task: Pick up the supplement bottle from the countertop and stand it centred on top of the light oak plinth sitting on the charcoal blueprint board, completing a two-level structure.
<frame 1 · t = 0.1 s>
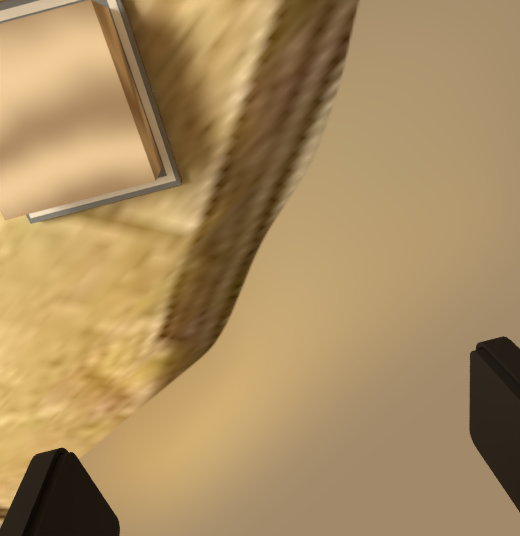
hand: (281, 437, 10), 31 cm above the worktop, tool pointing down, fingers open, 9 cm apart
oak plinth: (66, 112, 33), point 1 cm above the worktop, touching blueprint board
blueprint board: (70, 111, 34), on the worktop
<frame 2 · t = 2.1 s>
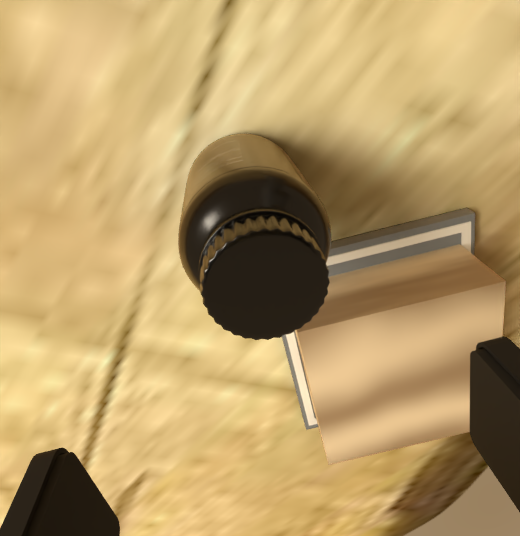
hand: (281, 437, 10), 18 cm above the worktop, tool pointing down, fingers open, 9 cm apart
oak plinth: (379, 335, 31), point 1 cm above the worktop, touching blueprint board
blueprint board: (375, 327, 31), on the worktop
supplement bottle: (243, 188, 26), on the worktop
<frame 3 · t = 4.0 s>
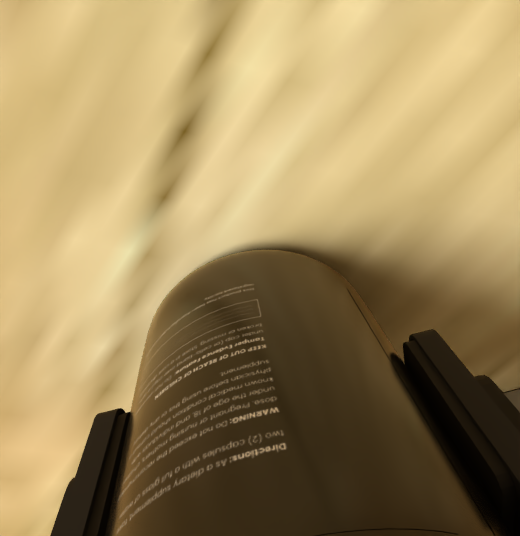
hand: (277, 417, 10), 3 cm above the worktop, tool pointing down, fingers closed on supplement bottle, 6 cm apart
supplement bottle: (260, 337, 13), on the worktop, touching gripper
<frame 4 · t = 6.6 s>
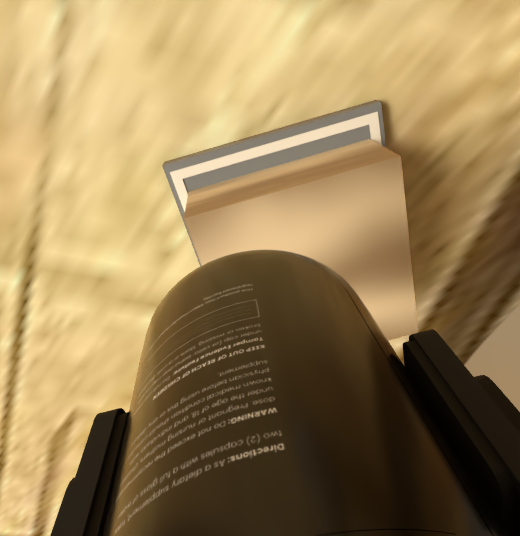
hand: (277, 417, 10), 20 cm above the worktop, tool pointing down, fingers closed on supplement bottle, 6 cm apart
oak plinth: (298, 246, 29), point 1 cm above the worktop, touching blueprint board
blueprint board: (295, 241, 30), on the worktop
supplement bottle: (259, 337, 13), point 17 cm above the worktop, touching gripper
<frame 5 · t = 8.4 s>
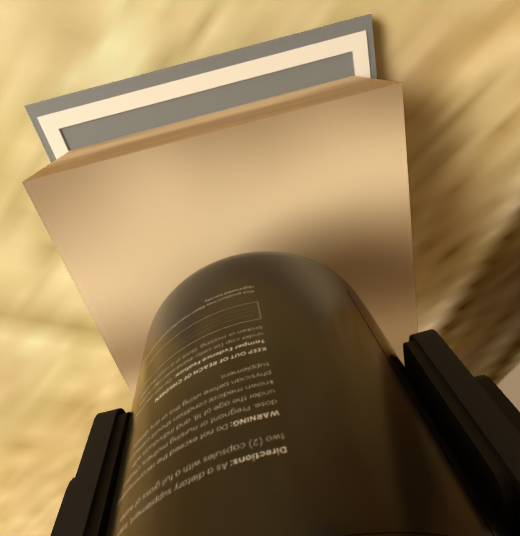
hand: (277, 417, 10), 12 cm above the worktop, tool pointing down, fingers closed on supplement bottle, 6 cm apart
oak plinth: (246, 241, 20), point 1 cm above the worktop, touching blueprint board
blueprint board: (245, 234, 21), on the worktop
supplement bottle: (260, 339, 13), point 9 cm above the worktop, touching gripper
when the fingers open (10 cm above the worktop, at t = 9.6 s): supplement bottle drops 1 cm, resting on oak plinth.
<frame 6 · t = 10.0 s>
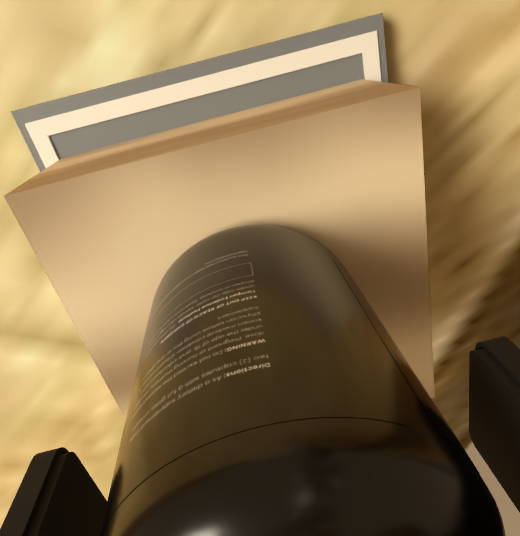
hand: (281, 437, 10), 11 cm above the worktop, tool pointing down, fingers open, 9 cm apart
oak plinth: (248, 254, 19), point 1 cm above the worktop, touching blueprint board, supplement bottle
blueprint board: (246, 245, 20), on the worktop
supplement bottle: (255, 308, 14), point 6 cm above the worktop, touching oak plinth
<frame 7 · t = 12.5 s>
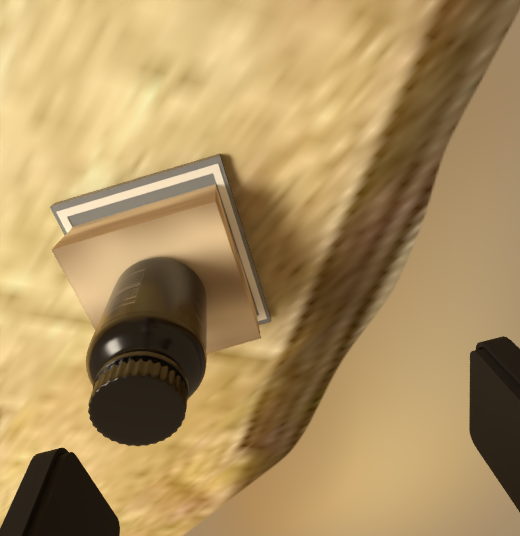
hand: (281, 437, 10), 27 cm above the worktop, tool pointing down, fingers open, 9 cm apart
oak plinth: (170, 269, 36), point 1 cm above the worktop, touching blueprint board, supplement bottle
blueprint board: (171, 264, 37), on the worktop
supplement bottle: (162, 294, 32), point 6 cm above the worktop, touching oak plinth
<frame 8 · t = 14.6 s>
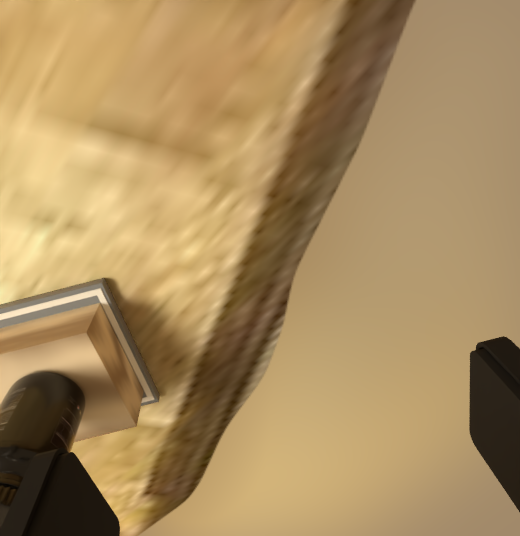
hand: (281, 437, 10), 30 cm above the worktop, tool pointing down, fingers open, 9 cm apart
oak plinth: (68, 363, 43), point 1 cm above the worktop, touching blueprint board, supplement bottle
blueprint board: (71, 357, 44), on the worktop
supplement bottle: (50, 395, 39), point 6 cm above the worktop, touching oak plinth
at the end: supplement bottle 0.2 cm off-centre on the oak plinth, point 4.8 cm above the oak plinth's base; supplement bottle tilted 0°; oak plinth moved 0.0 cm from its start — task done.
